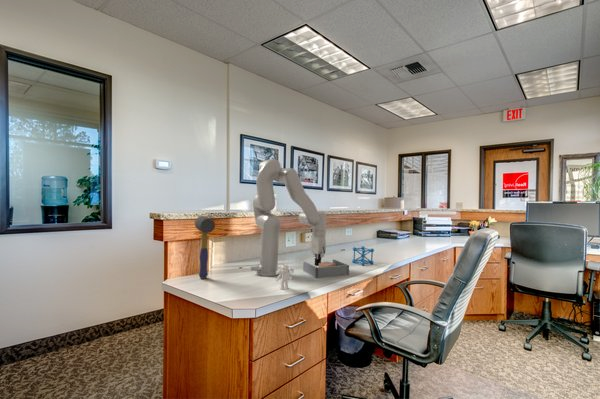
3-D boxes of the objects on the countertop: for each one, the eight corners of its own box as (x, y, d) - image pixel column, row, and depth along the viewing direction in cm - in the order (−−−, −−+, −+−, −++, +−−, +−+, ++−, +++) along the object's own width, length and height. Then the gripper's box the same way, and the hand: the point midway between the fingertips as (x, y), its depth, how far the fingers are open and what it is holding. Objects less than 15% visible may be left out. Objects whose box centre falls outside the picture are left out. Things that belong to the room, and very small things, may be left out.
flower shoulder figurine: (278, 291, 133) (279, 264, 133) (273, 288, 136) (274, 262, 136) (294, 287, 139) (295, 261, 139) (289, 285, 142) (290, 259, 142)
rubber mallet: (214, 280, 146) (216, 217, 145) (198, 282, 142) (200, 217, 141) (207, 274, 156) (208, 215, 156) (192, 275, 152) (193, 215, 152)
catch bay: (316, 277, 156) (316, 268, 156) (303, 270, 170) (303, 261, 170) (348, 274, 165) (349, 265, 165) (333, 267, 179) (334, 259, 178)
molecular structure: (362, 261, 200) (362, 245, 199) (374, 264, 192) (374, 248, 191) (351, 262, 194) (351, 247, 194) (363, 266, 186) (363, 249, 185)
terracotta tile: (328, 272, 168) (328, 265, 168) (318, 270, 173) (318, 263, 173) (336, 270, 173) (336, 263, 173) (326, 268, 178) (326, 261, 178)
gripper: (307, 231, 180) (305, 263, 180) (319, 235, 167) (318, 269, 167) (318, 231, 183) (316, 262, 184) (331, 235, 170) (330, 268, 170)
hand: (317, 265), depth 175 cm, fingers closed
